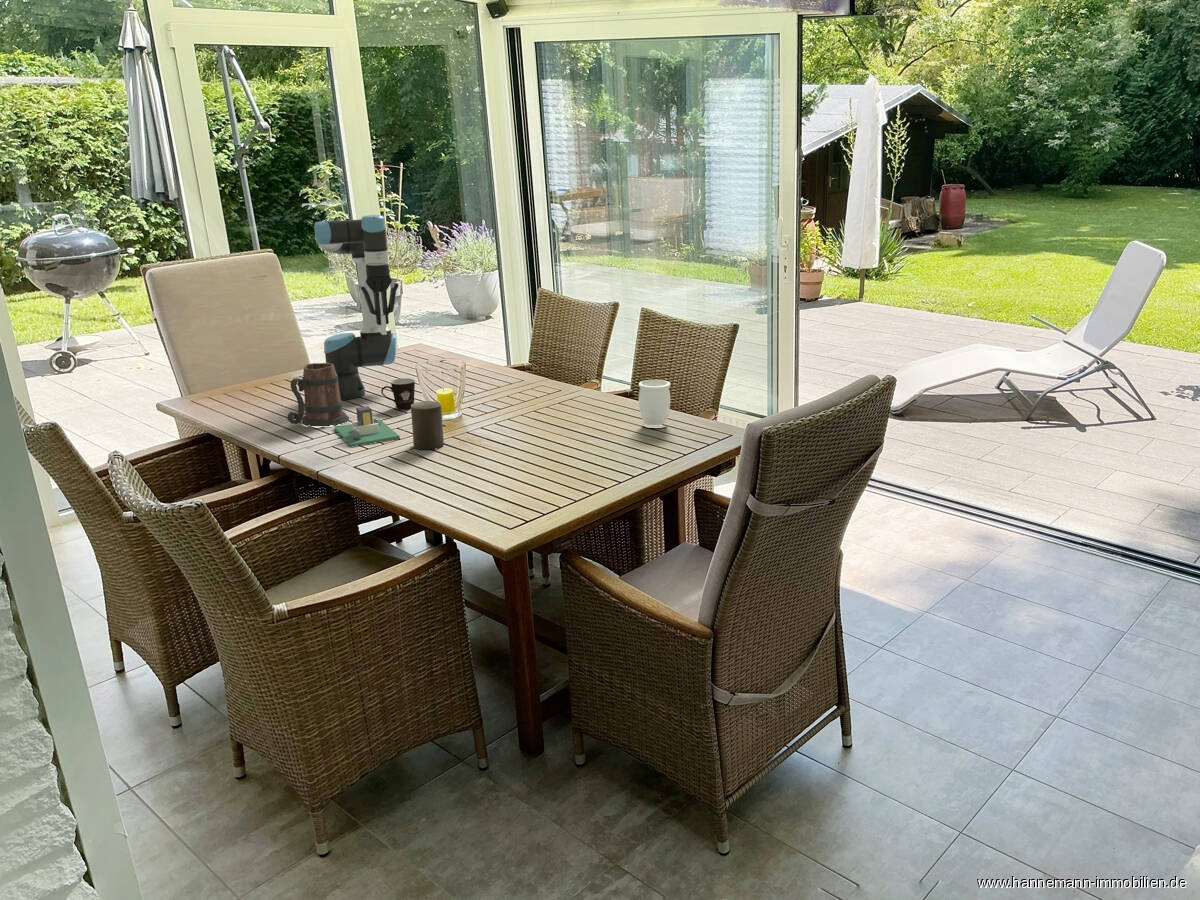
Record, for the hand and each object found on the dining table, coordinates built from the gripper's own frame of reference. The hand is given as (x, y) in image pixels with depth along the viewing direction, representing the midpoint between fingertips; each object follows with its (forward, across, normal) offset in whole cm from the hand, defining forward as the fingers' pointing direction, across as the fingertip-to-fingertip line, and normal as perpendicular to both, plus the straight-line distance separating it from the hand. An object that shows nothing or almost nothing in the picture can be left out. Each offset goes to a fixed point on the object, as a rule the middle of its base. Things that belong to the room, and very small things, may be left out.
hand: (383, 333), depth 327 cm
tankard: (+32, -23, +13) cm, 41 cm away
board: (+31, -11, -9) cm, 34 cm away
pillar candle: (+31, +3, -32) cm, 45 cm away
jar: (+31, +75, -52) cm, 97 cm away
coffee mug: (+32, +8, +16) cm, 37 cm away
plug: (+30, -11, -9) cm, 33 cm away
